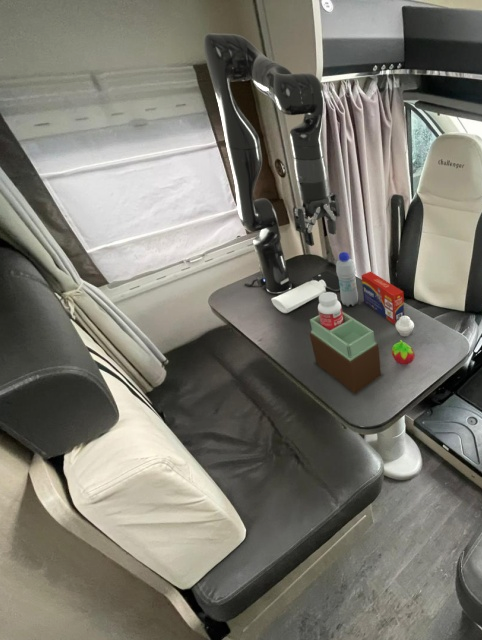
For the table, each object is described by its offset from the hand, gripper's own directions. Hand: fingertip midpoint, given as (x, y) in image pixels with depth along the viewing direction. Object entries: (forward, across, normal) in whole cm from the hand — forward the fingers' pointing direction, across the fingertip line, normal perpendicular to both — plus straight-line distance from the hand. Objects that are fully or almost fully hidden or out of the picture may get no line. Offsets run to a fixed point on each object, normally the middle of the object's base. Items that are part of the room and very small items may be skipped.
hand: (321, 239), depth 100 cm
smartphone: (+33, -22, -23) cm, 46 cm away
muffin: (+32, -12, +20) cm, 40 cm away
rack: (+32, +12, +16) cm, 38 cm away
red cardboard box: (+33, -18, +6) cm, 38 cm away
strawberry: (+32, +1, +28) cm, 43 cm away
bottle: (+33, -15, -7) cm, 37 cm away
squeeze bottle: (+33, -7, -23) cm, 41 cm away
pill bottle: (+20, +11, +12) cm, 25 cm away
